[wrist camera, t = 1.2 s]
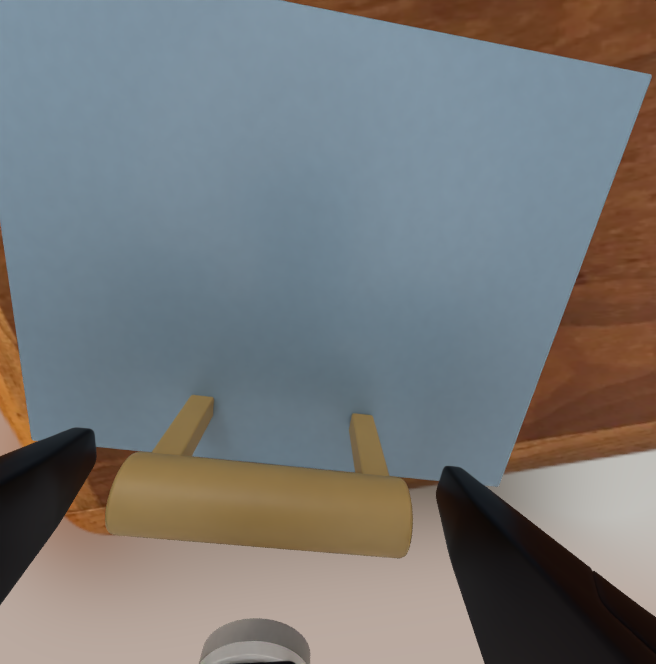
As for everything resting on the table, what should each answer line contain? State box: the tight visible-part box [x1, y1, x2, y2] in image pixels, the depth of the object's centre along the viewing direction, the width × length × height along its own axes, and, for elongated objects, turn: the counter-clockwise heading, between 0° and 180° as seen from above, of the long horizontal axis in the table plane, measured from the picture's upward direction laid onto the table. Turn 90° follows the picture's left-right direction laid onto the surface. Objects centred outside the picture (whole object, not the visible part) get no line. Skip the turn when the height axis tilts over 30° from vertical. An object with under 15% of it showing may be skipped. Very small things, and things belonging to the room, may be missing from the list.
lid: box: [0, 0, 652, 558], centre depth 8 cm, size 12×16×5 cm
